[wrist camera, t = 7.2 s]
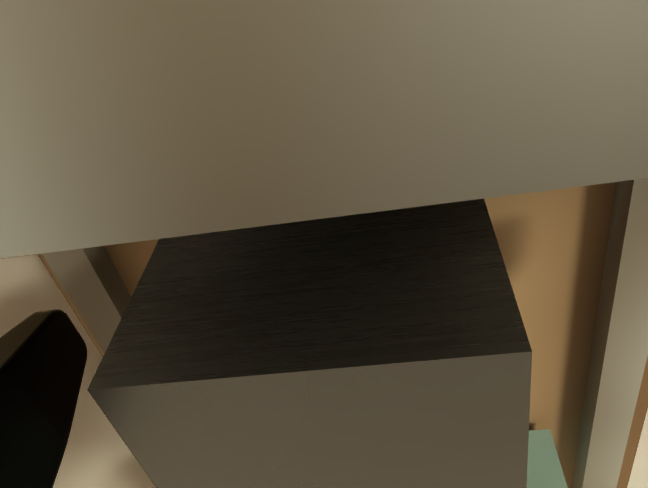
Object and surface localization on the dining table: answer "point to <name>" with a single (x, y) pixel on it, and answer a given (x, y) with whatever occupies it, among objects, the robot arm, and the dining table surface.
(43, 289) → the dining table surface
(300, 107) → the vise base
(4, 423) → the robot arm
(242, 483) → the block
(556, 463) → the sliding jaw
